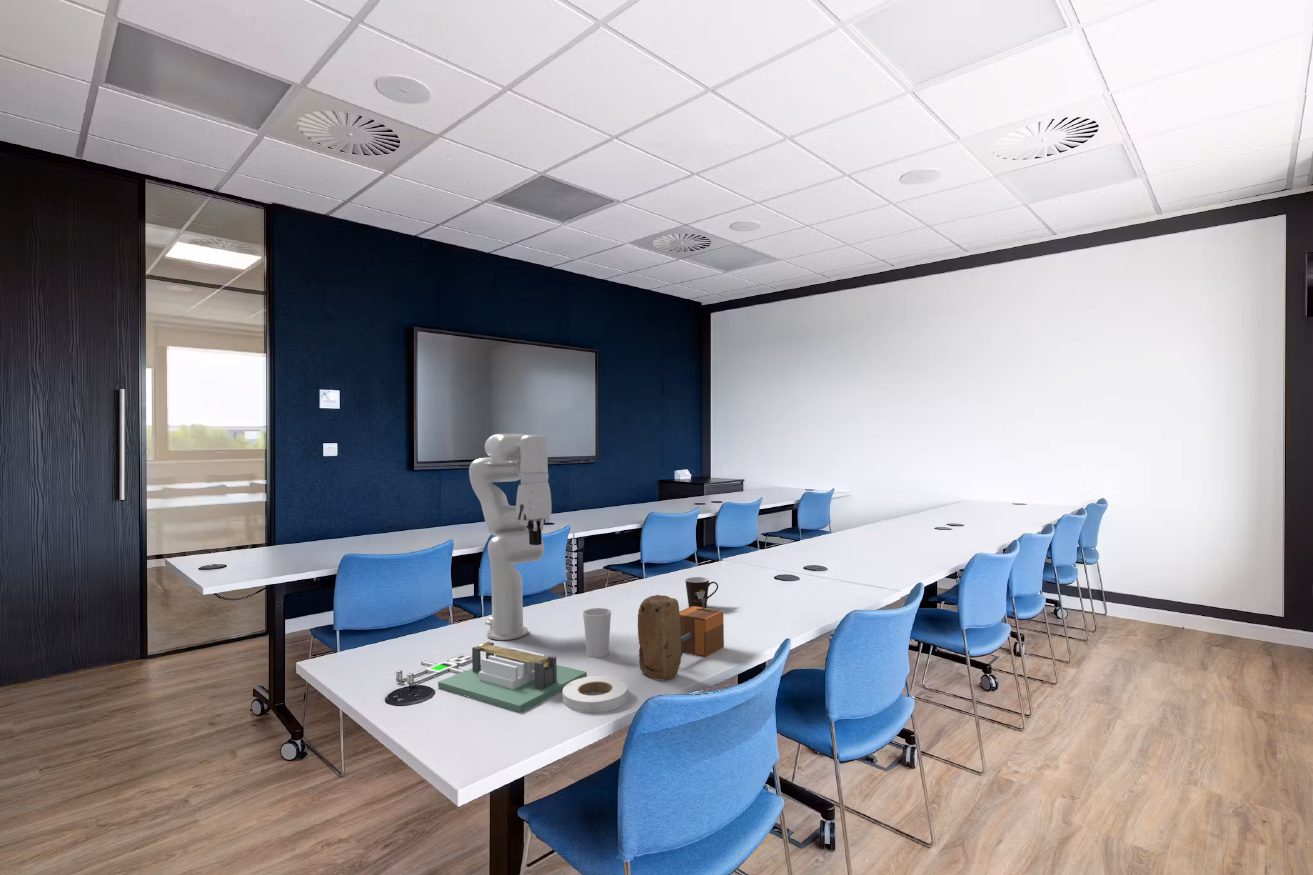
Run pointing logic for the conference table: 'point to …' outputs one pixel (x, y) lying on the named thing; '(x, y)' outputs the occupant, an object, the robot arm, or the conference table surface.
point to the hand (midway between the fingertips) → (535, 544)
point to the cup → (597, 631)
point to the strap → (513, 654)
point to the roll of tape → (593, 703)
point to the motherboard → (510, 680)
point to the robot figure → (435, 669)
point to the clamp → (701, 631)
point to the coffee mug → (698, 591)
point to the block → (659, 637)
